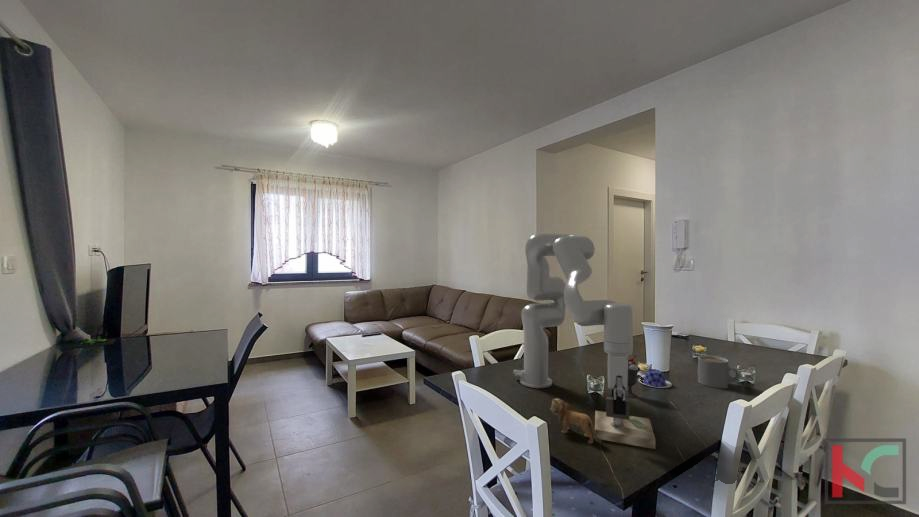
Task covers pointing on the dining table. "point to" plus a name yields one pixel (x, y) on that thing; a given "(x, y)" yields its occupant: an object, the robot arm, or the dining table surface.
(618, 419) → the latch
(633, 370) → the sundae
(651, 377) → the plate of grapes
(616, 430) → the dial board
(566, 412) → the lion figurine
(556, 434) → the dining table surface
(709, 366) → the coffee mug
